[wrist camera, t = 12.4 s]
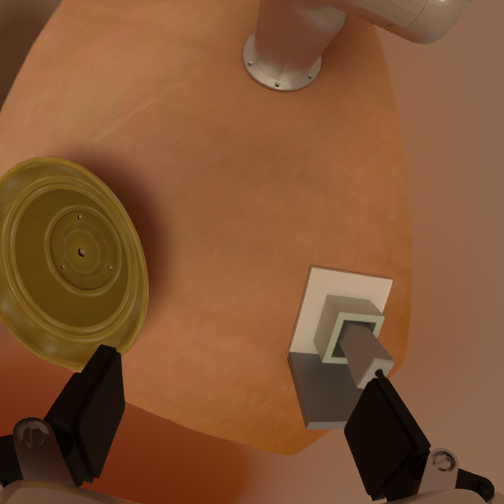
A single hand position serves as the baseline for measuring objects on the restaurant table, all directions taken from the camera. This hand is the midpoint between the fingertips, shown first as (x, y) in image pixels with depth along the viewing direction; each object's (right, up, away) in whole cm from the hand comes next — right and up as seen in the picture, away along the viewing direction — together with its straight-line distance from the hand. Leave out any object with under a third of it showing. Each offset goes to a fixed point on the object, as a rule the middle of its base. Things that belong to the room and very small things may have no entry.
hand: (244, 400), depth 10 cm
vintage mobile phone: (+16, -7, +41) cm, 45 cm away
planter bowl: (-29, +6, +37) cm, 47 cm away
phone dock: (+16, -7, +42) cm, 46 cm away
